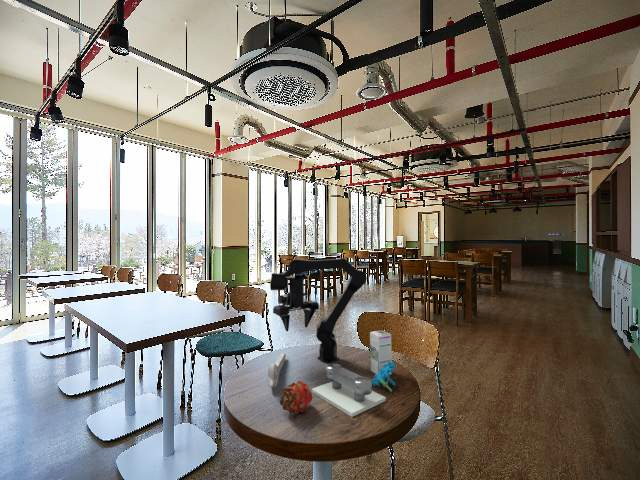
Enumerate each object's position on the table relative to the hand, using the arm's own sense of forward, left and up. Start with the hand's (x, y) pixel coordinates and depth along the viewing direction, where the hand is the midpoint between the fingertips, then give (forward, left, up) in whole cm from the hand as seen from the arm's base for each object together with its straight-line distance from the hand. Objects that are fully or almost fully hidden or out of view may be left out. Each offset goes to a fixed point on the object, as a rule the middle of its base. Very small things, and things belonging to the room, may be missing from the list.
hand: (296, 329), depth 128 cm
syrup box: (-16, +30, -12) cm, 36 cm away
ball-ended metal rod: (+5, +35, -8) cm, 36 cm away
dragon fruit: (+22, +31, -12) cm, 40 cm away
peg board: (+5, +35, -12) cm, 37 cm away
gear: (-9, +37, -12) cm, 40 cm away
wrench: (+14, +8, -12) cm, 20 cm away
